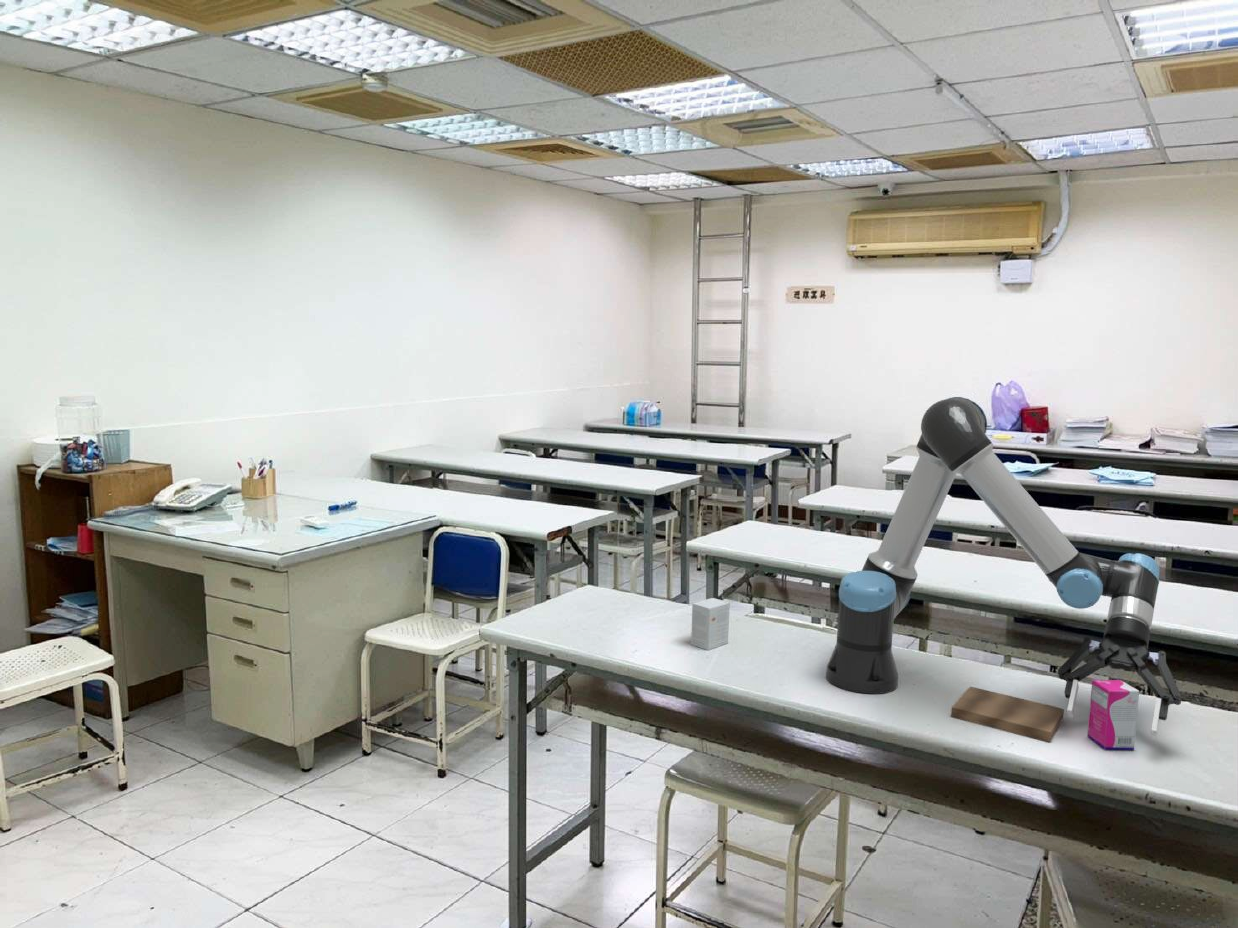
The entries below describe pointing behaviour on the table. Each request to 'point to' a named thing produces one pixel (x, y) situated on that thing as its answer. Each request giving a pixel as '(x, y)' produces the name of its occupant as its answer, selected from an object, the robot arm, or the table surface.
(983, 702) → the brown flat block
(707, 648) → the small box
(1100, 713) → the supplement box
